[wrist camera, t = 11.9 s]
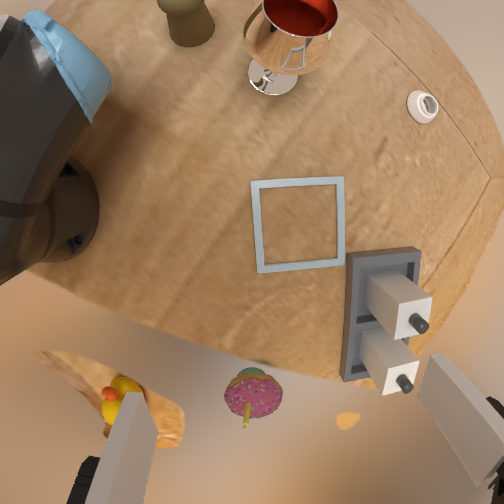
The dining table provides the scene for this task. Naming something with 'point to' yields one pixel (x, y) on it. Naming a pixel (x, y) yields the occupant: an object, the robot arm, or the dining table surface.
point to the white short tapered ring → (422, 106)
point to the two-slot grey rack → (355, 308)
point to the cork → (188, 21)
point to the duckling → (117, 396)
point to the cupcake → (253, 394)
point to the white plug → (388, 361)
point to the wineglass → (288, 41)
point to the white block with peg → (398, 304)
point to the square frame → (258, 223)
